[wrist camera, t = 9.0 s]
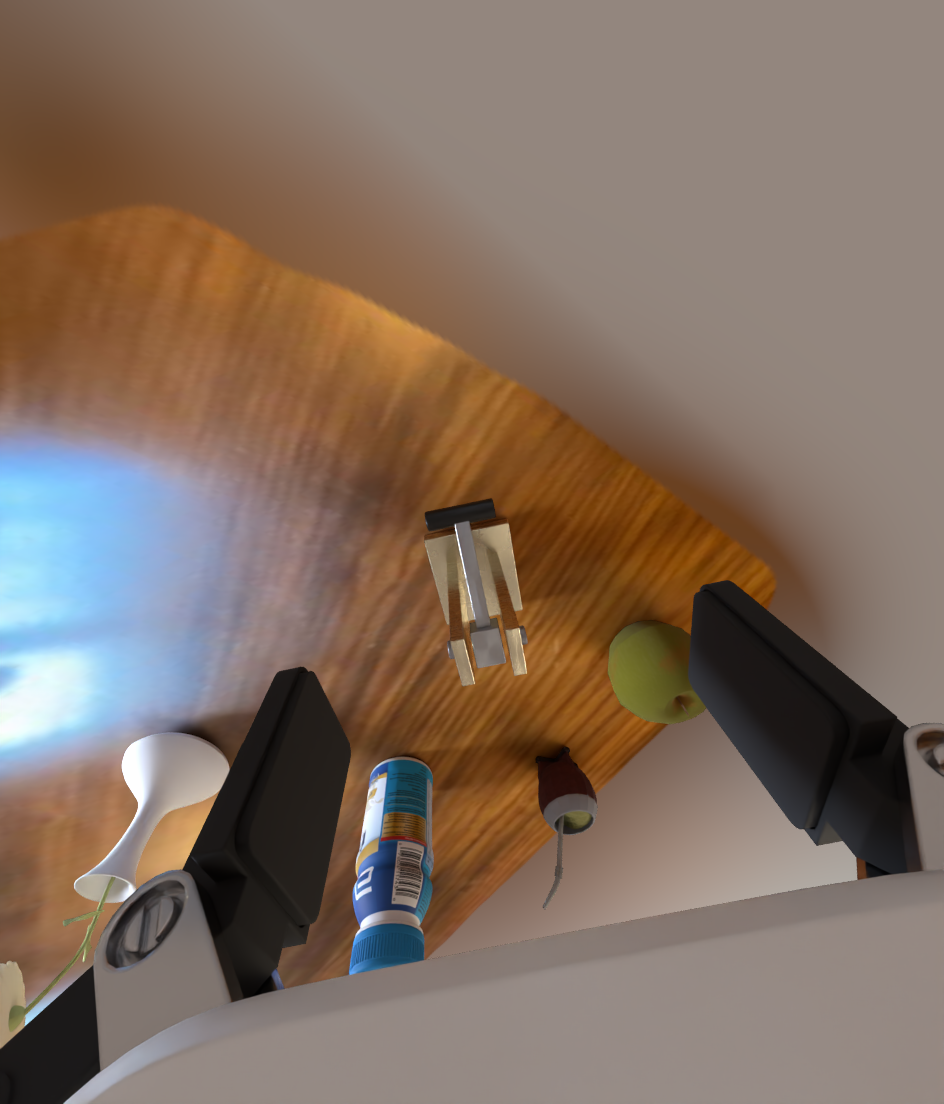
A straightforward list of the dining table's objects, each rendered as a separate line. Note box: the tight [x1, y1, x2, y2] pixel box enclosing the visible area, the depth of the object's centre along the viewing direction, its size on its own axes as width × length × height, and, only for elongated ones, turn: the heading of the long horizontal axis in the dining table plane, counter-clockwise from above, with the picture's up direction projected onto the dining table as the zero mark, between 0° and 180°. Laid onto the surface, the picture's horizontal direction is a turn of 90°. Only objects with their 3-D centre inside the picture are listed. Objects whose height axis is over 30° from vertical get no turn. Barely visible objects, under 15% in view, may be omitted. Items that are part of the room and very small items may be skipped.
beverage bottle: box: [349, 757, 434, 975], centre depth 46 cm, size 8×8×20 cm
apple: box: [608, 620, 706, 724], centre depth 43 cm, size 10×10×11 cm
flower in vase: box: [0, 732, 230, 1049], centre depth 39 cm, size 13×11×25 cm
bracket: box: [424, 519, 527, 686], centre depth 36 cm, size 10×8×13 cm
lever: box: [425, 498, 506, 668], centre depth 31 cm, size 12×5×2 cm, turn 11°
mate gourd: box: [536, 747, 598, 909], centre depth 50 cm, size 8×8×15 cm
